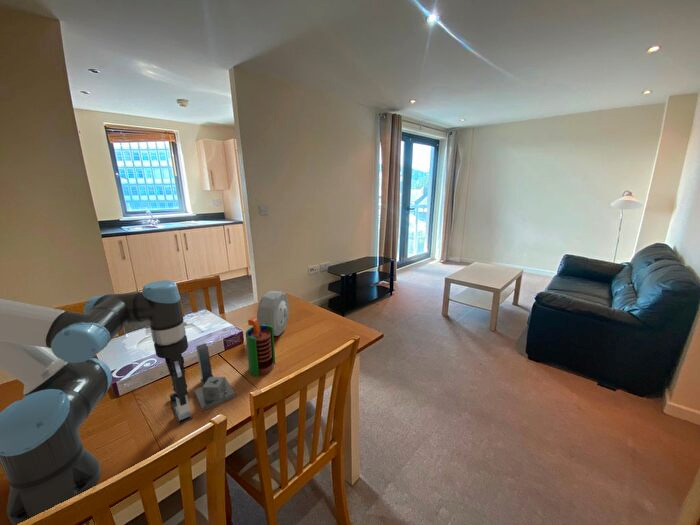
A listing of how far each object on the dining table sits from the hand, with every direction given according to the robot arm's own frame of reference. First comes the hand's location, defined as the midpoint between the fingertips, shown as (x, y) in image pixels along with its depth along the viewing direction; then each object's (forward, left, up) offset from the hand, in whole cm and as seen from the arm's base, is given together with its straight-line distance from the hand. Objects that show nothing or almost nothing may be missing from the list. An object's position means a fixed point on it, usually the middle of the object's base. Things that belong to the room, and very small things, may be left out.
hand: (184, 411), depth 85 cm
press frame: (+7, +10, -5) cm, 13 cm away
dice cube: (+10, +6, -4) cm, 12 cm away
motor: (+28, +12, -5) cm, 31 cm away
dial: (+44, +33, -5) cm, 55 cm away
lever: (0, +4, -5) cm, 6 cm away
